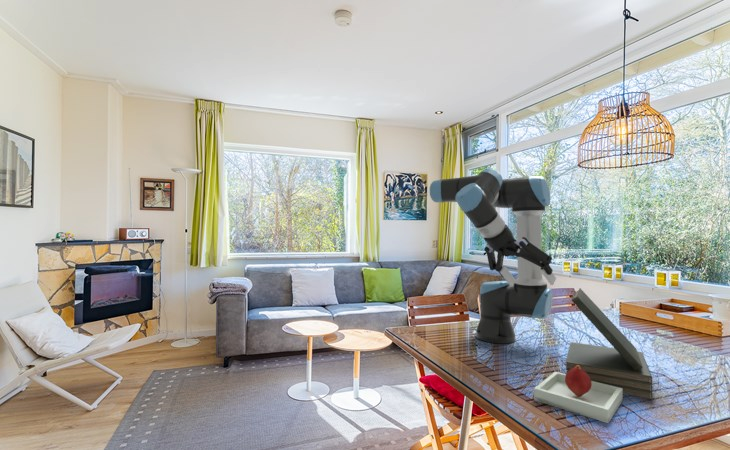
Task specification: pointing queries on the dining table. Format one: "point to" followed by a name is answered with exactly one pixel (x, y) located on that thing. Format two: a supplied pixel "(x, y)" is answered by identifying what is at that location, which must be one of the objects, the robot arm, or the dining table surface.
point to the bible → (609, 354)
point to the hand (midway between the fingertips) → (532, 282)
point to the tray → (580, 398)
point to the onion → (578, 381)
